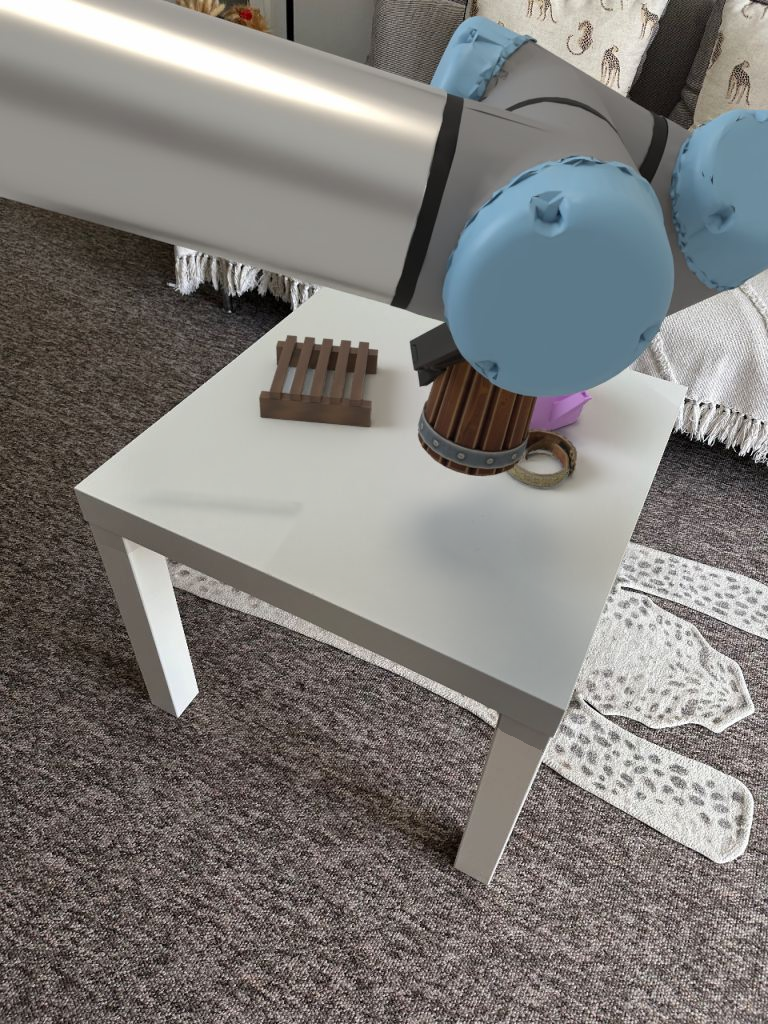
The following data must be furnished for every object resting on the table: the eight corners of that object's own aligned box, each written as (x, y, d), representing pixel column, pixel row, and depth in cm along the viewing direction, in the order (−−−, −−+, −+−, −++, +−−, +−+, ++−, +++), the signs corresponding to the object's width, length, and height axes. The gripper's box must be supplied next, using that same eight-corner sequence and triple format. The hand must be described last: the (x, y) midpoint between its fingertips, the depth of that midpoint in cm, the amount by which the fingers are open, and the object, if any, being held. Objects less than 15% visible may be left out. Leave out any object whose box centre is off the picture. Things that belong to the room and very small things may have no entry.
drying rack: (260, 417, 90) (258, 390, 87) (278, 359, 100) (277, 333, 98) (369, 427, 90) (371, 401, 87) (377, 368, 100) (378, 343, 98)
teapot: (602, 438, 92) (626, 370, 85) (538, 458, 88) (557, 389, 81) (520, 368, 103) (535, 303, 96) (460, 383, 99) (471, 316, 92)
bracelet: (580, 458, 88) (586, 439, 86) (563, 499, 83) (569, 480, 81) (513, 437, 91) (518, 418, 89) (492, 475, 85) (496, 456, 83)
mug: (510, 493, 64) (563, 347, 55) (401, 457, 66) (434, 308, 56) (537, 410, 76) (585, 277, 66) (444, 380, 77) (477, 246, 68)
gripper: (446, 360, 45) (367, 417, 66) (739, 332, 50) (578, 393, 72) (429, 242, 45) (355, 338, 66) (724, 227, 50) (567, 320, 72)
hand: (471, 367), depth 69 cm, fingers closed on mug, 10 cm apart
